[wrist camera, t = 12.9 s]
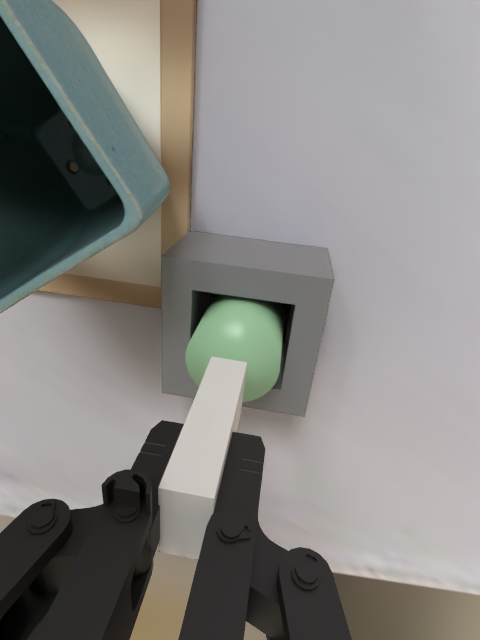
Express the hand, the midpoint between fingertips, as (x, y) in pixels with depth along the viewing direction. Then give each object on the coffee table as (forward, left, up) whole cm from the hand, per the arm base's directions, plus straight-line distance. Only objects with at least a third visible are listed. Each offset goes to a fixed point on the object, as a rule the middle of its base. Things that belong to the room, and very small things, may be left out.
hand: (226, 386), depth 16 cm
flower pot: (-8, -9, -8) cm, 14 cm away
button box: (0, 0, -9) cm, 9 cm away
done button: (0, 0, -6) cm, 6 cm away
